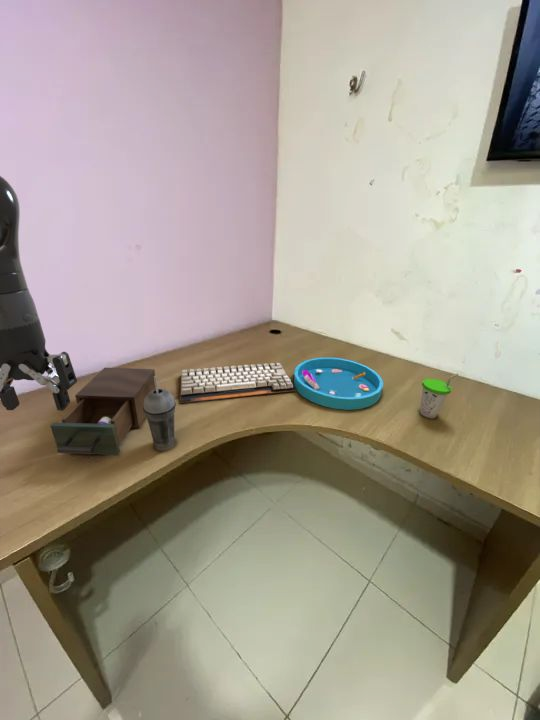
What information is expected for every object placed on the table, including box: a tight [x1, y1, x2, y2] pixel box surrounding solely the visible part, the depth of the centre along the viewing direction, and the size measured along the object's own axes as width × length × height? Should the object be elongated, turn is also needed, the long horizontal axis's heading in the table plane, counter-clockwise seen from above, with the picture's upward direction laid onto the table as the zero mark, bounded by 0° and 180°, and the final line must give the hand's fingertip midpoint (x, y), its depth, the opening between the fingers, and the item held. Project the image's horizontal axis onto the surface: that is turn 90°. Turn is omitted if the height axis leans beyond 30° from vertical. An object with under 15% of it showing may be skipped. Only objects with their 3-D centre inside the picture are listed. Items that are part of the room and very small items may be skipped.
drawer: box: [50, 398, 135, 456], centre depth 75 cm, size 19×14×8 cm
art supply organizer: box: [293, 357, 384, 411], centre depth 107 cm, size 30×30×6 cm
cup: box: [419, 373, 459, 419], centre depth 91 cm, size 8×8×15 cm
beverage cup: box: [143, 375, 177, 452], centre depth 73 cm, size 7×7×20 cm
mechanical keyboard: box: [179, 362, 296, 404], centre depth 106 cm, size 38×19×3 cm, turn 105°
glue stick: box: [97, 417, 112, 424], centre depth 76 cm, size 8×3×3 cm, turn 0°
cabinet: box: [74, 367, 156, 429], centre depth 88 cm, size 16×15×10 cm
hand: (38, 408), depth 54 cm, fingers open, 8 cm apart
